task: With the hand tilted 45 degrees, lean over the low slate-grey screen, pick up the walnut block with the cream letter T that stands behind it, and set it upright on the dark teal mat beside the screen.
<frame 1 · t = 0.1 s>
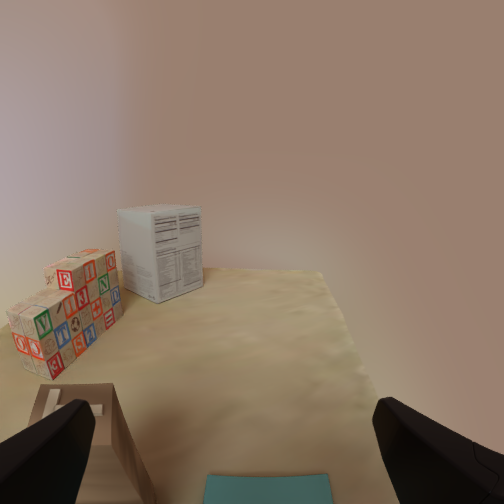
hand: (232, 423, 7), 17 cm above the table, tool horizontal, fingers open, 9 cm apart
stack of blocks: (78, 341, 39), on the table
supplement box: (163, 288, 63), on the table
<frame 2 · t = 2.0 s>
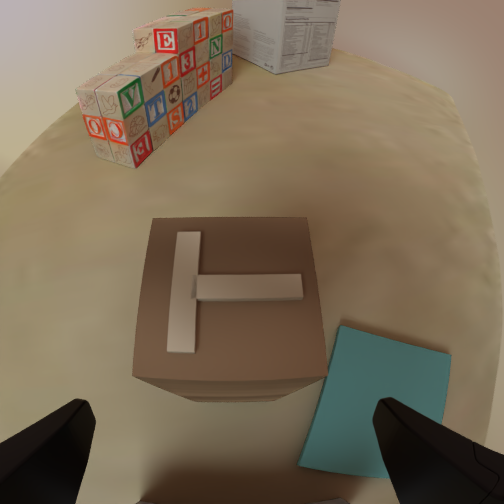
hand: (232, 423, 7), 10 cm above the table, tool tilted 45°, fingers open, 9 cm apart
stack of blocks: (172, 114, 33), on the table
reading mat: (385, 409, 17), on the table
supplement box: (279, 58, 45), on the table
letter block: (233, 365, 18), on the table
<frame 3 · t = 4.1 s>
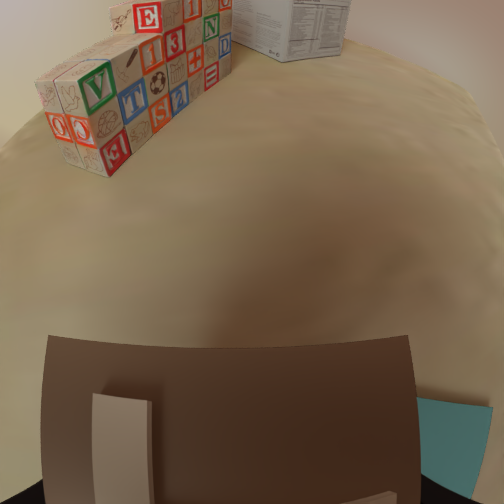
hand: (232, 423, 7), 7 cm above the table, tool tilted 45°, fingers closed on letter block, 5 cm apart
stack of blocks: (158, 108, 27), on the table
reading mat: (418, 479, 11), on the table
supplement box: (285, 46, 39), on the table
letter block: (235, 444, 12), on the table, touching gripper
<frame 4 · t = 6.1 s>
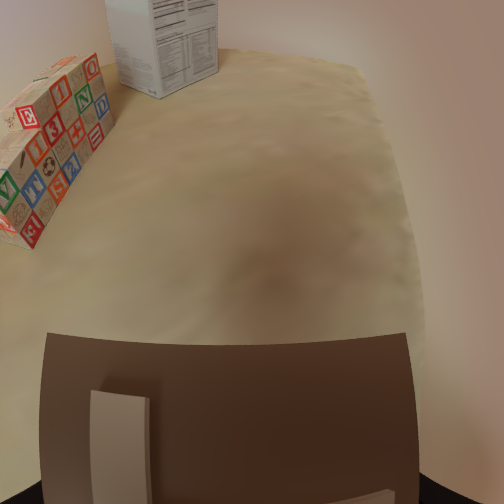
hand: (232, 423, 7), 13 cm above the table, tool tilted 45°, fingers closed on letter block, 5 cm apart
stack of blocks: (60, 177, 31), on the table
supplement box: (167, 77, 44), on the table
letter block: (234, 443, 12), point 7 cm above the table, touching gripper
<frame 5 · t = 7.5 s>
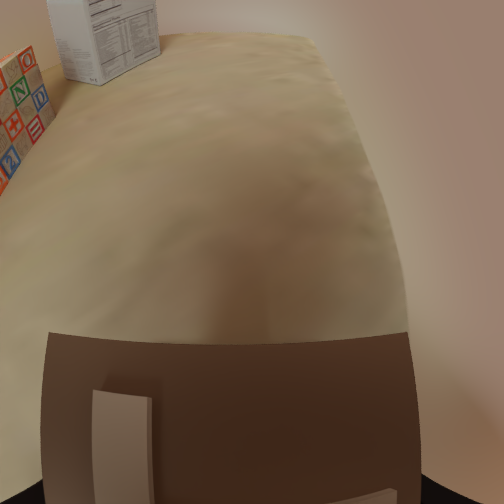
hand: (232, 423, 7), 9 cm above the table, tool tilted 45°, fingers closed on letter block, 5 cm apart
stack of blocks: (2, 174, 25), on the table
supplement box: (111, 66, 39), on the table
letter block: (235, 443, 12), point 2 cm above the table, touching gripper
when the fingers open (8 cm above the table, at t = 8.3 s): letter block drops 1 cm, resting on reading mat.
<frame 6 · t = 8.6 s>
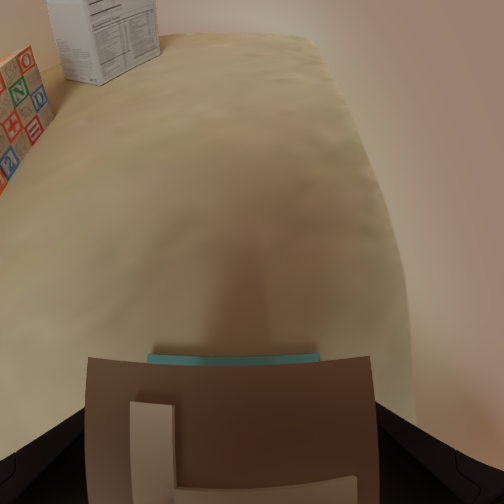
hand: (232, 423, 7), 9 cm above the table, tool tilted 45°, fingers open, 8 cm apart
stack of blocks: (1, 175, 25), on the table
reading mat: (235, 440, 14), on the table
supplement box: (111, 66, 39), on the table
letter block: (235, 441, 14), point 1 cm above the table, touching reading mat
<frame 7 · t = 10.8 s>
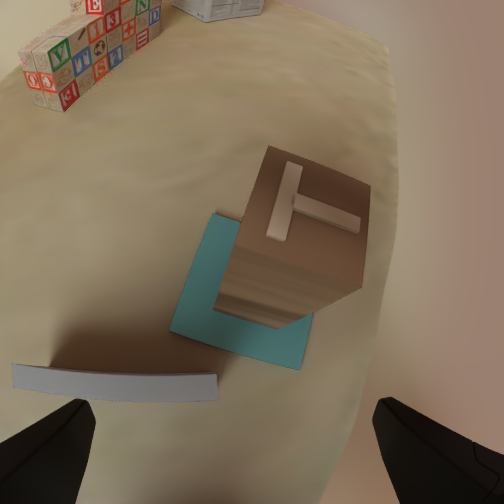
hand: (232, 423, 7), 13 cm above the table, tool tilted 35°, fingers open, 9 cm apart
stack of blocks: (101, 64, 31), on the table
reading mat: (252, 290, 23), on the table
supplement box: (215, 9, 42), on the table
screen: (124, 382, 18), on the table
letter block: (254, 288, 22), point 1 cm above the table, touching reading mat
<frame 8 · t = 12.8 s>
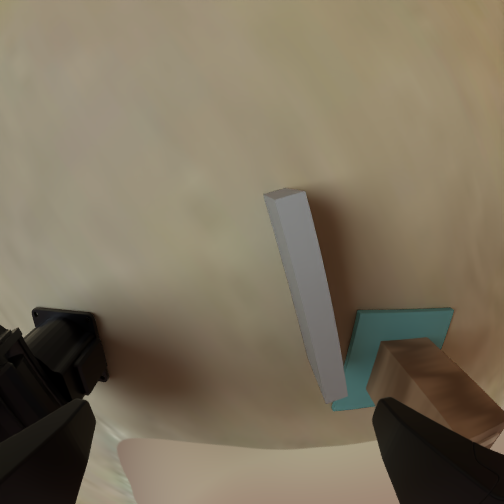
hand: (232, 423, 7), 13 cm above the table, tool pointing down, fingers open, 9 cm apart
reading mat: (394, 360, 23), on the table
screen: (299, 282, 20), on the table
letter block: (397, 363, 22), point 1 cm above the table, touching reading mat
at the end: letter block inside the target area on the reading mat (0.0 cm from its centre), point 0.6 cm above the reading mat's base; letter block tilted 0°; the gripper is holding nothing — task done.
